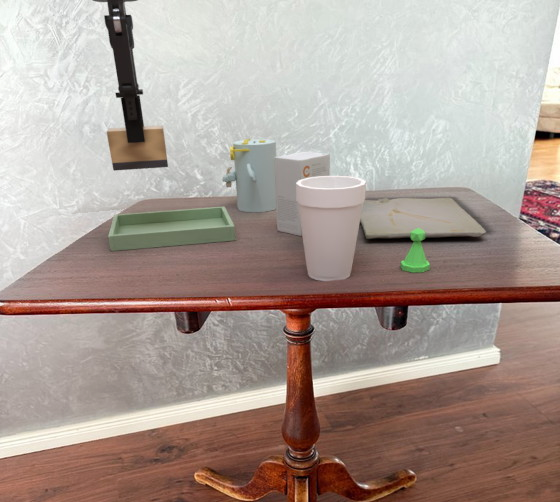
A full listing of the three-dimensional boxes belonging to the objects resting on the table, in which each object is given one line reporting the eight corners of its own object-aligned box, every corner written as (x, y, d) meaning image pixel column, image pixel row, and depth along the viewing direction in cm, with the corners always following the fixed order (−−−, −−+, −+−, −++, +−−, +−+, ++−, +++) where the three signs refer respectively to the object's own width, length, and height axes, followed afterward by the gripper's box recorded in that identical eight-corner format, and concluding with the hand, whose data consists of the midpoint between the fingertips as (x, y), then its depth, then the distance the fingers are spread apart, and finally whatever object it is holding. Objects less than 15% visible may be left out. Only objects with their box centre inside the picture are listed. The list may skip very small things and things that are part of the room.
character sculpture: (229, 198, 126) (224, 135, 120) (278, 196, 126) (276, 134, 119) (220, 220, 109) (214, 148, 102) (277, 218, 109) (274, 146, 102)
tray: (110, 251, 93) (107, 236, 92) (116, 228, 106) (113, 214, 105) (235, 240, 96) (234, 226, 95) (225, 219, 110) (224, 206, 108)
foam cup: (297, 285, 76) (296, 190, 70) (296, 264, 84) (295, 176, 78) (365, 284, 76) (370, 188, 69) (357, 262, 84) (361, 174, 77)
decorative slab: (349, 207, 115) (349, 197, 114) (449, 204, 115) (450, 195, 114) (366, 245, 92) (366, 233, 91) (492, 242, 91) (494, 230, 90)
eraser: (113, 170, 90) (106, 131, 87) (115, 165, 94) (108, 128, 91) (168, 167, 91) (163, 128, 88) (167, 162, 96) (162, 125, 93)
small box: (304, 221, 106) (304, 150, 99) (329, 227, 102) (331, 153, 96) (275, 230, 101) (273, 156, 94) (301, 236, 97) (300, 159, 91)
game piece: (410, 274, 79) (414, 233, 76) (394, 265, 82) (397, 226, 79) (435, 269, 80) (440, 229, 77) (418, 261, 84) (422, 222, 81)
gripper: (134, -43, 72) (159, 145, 84) (138, -24, 87) (159, 133, 99) (76, -42, 71) (109, 148, 83) (90, -24, 86) (117, 135, 98)
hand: (137, 139), depth 91 cm, fingers closed on eraser, 5 cm apart
